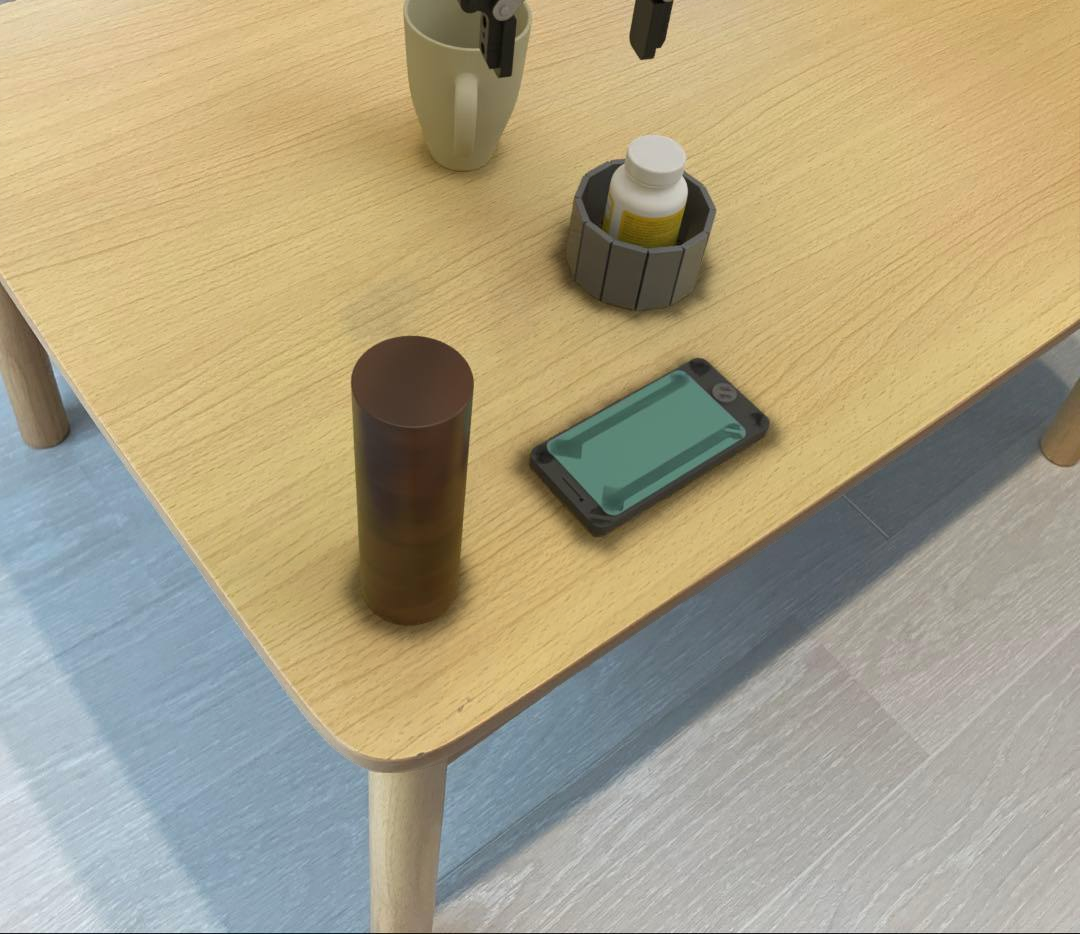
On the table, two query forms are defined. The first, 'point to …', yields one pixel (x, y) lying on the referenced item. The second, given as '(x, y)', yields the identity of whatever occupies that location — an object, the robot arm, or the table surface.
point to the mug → (459, 81)
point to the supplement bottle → (647, 194)
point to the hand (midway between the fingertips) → (571, 60)
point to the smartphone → (647, 445)
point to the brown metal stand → (411, 474)
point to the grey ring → (635, 248)
